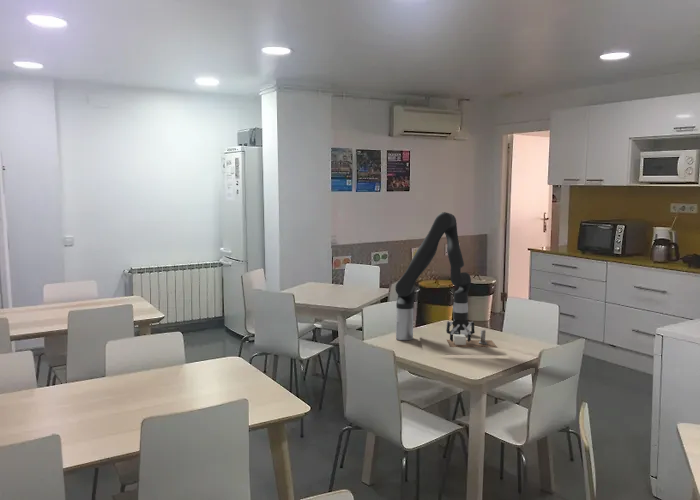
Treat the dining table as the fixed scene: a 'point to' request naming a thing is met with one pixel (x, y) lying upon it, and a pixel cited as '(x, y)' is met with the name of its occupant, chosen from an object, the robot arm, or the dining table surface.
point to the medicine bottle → (463, 331)
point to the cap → (459, 339)
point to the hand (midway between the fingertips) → (460, 341)
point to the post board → (475, 342)
